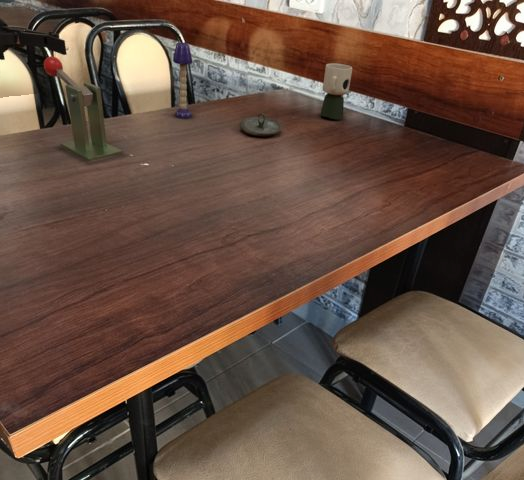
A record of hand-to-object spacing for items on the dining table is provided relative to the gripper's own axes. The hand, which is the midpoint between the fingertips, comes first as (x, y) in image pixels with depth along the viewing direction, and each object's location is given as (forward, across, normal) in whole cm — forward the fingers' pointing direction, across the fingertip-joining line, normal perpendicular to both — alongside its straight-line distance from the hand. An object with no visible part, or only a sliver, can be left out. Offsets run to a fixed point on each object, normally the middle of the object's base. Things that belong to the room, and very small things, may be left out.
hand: (34, 49), depth 105 cm
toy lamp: (+7, -34, -16) cm, 38 cm away
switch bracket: (+17, 0, -16) cm, 24 cm away
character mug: (+29, -69, -16) cm, 76 cm away
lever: (+11, 0, -5) cm, 12 cm away
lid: (+27, -42, -16) cm, 52 cm away
